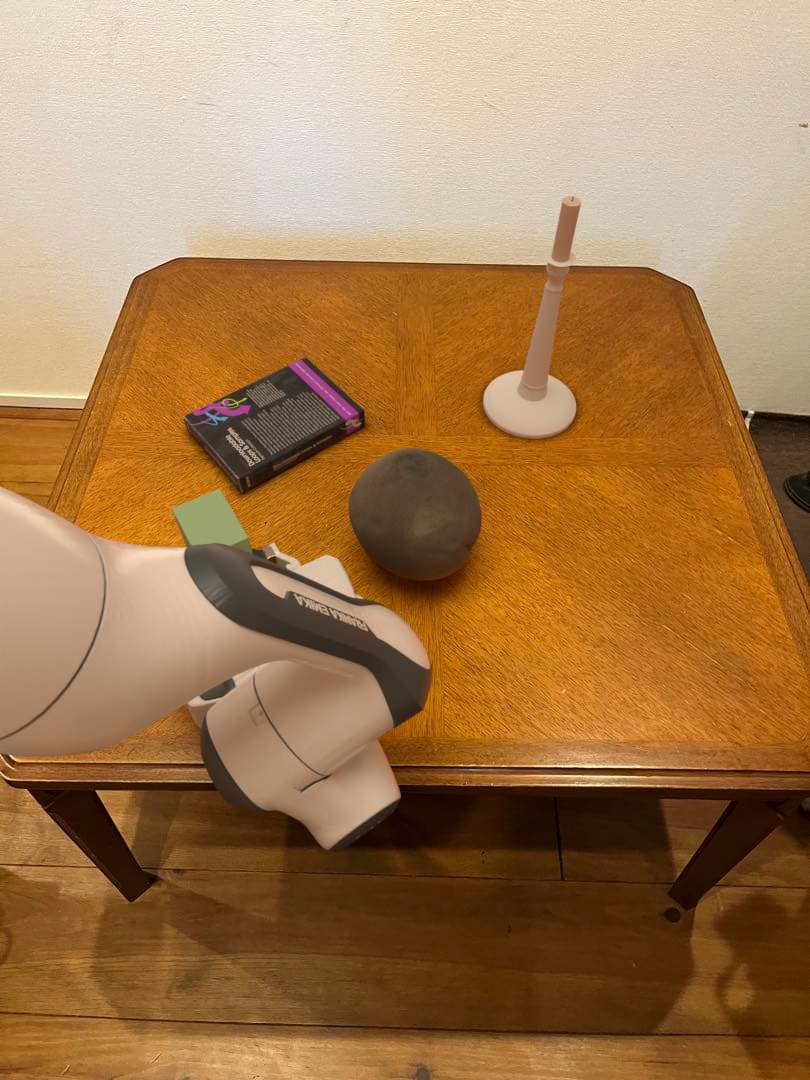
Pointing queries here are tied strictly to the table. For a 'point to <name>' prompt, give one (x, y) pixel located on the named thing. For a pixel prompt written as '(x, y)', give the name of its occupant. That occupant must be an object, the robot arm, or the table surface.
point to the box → (274, 423)
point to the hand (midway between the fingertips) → (225, 567)
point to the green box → (210, 522)
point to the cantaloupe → (415, 514)
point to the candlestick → (539, 355)
